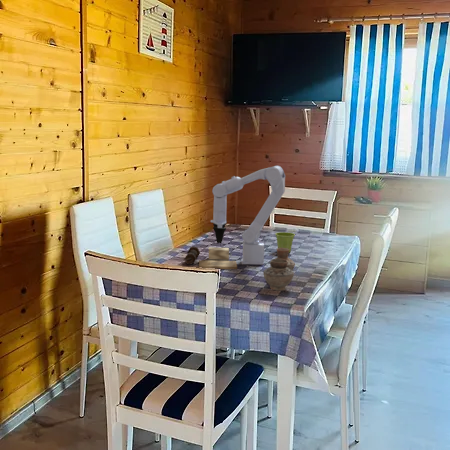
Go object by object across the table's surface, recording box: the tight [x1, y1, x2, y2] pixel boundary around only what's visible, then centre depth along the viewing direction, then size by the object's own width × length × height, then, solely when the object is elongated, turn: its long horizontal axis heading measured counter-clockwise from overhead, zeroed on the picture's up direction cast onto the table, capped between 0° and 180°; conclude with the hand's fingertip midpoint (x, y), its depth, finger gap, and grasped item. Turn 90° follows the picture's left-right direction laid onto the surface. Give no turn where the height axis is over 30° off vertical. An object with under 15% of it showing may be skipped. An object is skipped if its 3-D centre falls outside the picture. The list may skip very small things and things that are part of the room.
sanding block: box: [207, 246, 230, 261], centre depth 244 cm, size 9×5×5 cm, turn 92°
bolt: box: [184, 246, 201, 265], centre depth 240 cm, size 6×5×15 cm
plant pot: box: [274, 231, 296, 253], centre depth 263 cm, size 9×9×9 cm
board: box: [198, 259, 238, 270], centre depth 233 cm, size 16×10×1 cm, turn 92°
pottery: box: [262, 247, 296, 292], centre depth 209 cm, size 11×25×12 cm, turn 169°
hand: (219, 241), depth 243 cm, fingers open, 7 cm apart
